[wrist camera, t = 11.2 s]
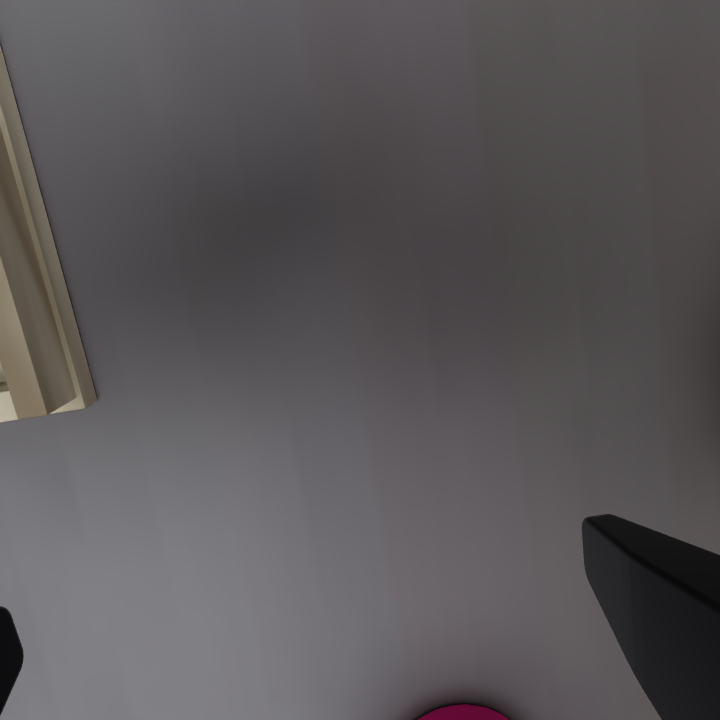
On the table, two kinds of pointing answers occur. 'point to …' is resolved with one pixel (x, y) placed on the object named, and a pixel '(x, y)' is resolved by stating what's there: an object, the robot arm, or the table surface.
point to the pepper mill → (463, 713)
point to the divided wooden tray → (32, 290)
